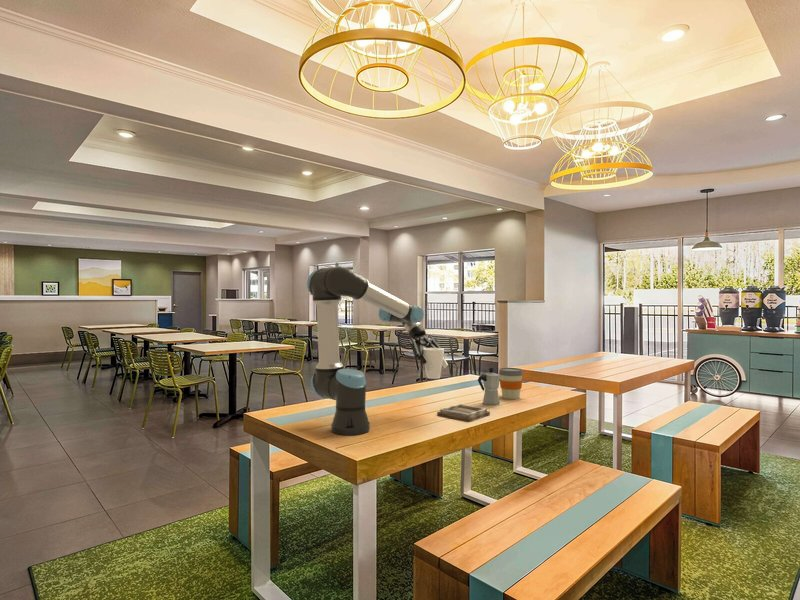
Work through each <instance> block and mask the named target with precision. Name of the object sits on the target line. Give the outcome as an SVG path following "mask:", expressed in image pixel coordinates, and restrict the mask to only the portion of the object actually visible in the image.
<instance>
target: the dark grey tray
mask: <svg viewBox="0 0 800 600" xmlns="http://www.w3.org/2000/svg"><path fill="white" fill-rule="evenodd" d="M490 415H491V411H489V410H488V409H487V408H484V407H479V406H473V405H467V404H462V403H459V404H455V405H451V406H446V407H443V408H441V409H440V410H439V411H437V413H436V416H438V417H442V418H448V419H453V420H458V421H463V422H468V423H470V422H473V421H476V420H479V419H481V418H485V417H487V416H490Z"/></svg>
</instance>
